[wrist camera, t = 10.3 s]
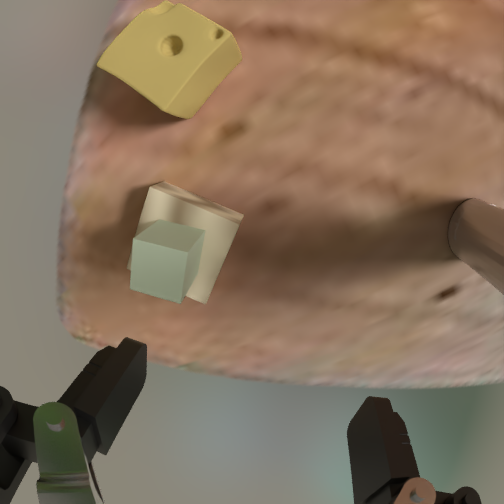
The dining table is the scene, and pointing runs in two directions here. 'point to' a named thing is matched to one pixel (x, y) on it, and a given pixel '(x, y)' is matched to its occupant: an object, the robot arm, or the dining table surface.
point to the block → (166, 260)
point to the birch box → (198, 216)
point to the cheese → (172, 57)
